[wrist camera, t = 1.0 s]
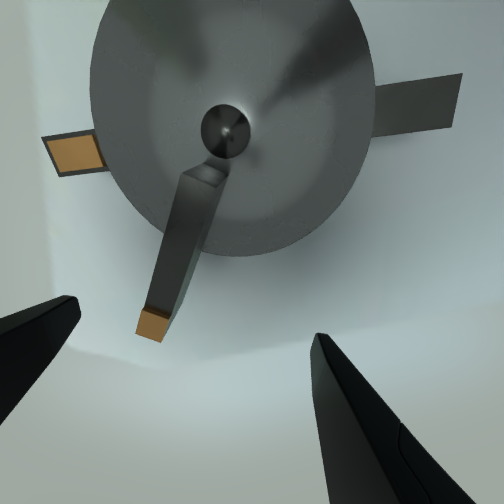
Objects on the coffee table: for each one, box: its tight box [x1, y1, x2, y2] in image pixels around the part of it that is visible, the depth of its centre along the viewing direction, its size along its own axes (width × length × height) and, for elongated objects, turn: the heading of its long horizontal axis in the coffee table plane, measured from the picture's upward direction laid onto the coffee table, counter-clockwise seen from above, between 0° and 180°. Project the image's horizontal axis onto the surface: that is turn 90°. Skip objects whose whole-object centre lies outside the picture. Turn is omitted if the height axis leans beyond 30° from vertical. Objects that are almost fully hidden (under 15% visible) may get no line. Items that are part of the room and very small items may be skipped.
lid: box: [90, 0, 375, 343], centre depth 12 cm, size 19×15×5 cm
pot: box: [41, 73, 463, 177], centre depth 16 cm, size 24×15×5 cm, turn 97°
